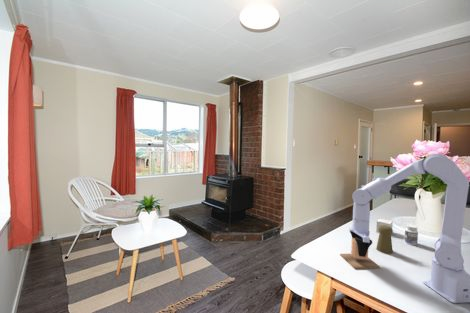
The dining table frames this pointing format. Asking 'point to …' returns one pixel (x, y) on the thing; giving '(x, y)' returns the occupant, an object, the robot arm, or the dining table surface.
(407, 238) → the pill bottle
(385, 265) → the dining table surface
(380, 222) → the white beige cube
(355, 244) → the wooden slatted pot
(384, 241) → the olive flared column
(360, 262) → the plate
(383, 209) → the dining table surface
